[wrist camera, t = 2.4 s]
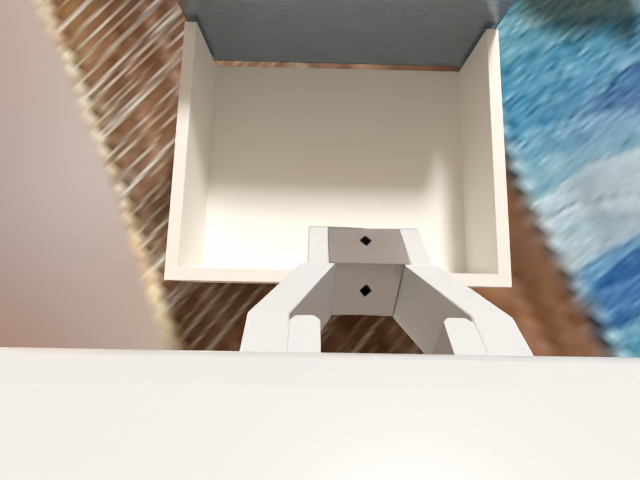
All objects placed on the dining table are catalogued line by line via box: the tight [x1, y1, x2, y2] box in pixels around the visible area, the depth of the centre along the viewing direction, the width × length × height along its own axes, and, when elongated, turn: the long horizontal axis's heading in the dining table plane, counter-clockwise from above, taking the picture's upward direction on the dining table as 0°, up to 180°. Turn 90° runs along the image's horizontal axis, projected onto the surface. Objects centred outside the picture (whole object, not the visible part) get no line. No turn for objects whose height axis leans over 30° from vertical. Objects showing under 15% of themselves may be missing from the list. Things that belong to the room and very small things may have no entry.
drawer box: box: [164, 22, 512, 288], centre depth 28 cm, size 18×22×7 cm
